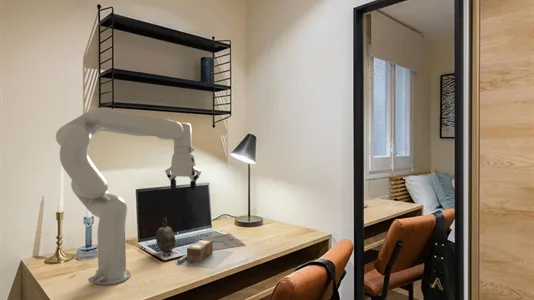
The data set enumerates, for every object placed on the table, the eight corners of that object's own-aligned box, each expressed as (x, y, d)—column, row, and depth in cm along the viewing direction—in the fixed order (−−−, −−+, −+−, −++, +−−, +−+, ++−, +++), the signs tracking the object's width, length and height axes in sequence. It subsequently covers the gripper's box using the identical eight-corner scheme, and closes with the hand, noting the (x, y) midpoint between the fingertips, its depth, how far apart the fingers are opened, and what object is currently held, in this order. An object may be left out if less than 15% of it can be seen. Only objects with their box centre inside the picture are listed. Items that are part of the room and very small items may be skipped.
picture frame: (199, 241, 173) (212, 254, 154) (199, 237, 173) (212, 249, 154) (229, 237, 181) (245, 249, 162) (229, 232, 181) (245, 244, 162)
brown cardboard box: (199, 262, 139) (199, 249, 139) (187, 261, 141) (186, 247, 141) (212, 253, 151) (212, 240, 151) (200, 251, 153) (200, 239, 152)
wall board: (214, 271, 133) (213, 260, 133) (174, 266, 138) (174, 256, 138) (233, 254, 152) (233, 245, 152) (197, 250, 158) (197, 241, 157)
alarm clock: (176, 254, 153) (175, 219, 152) (165, 257, 149) (164, 221, 148) (164, 248, 160) (164, 215, 160) (153, 251, 157) (153, 217, 156)
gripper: (204, 150, 149) (204, 188, 150) (170, 150, 154) (170, 187, 154) (196, 151, 142) (196, 191, 142) (160, 151, 147) (161, 189, 147)
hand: (183, 189), depth 148 cm, fingers open, 9 cm apart
